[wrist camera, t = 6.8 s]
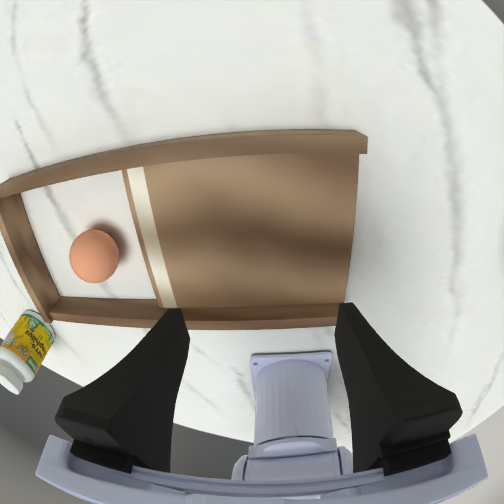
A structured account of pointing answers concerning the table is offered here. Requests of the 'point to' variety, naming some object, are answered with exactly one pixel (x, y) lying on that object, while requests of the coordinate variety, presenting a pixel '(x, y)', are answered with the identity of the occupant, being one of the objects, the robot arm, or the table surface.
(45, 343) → the supplement bottle
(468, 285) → the table surface
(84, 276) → the ball
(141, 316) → the lane
